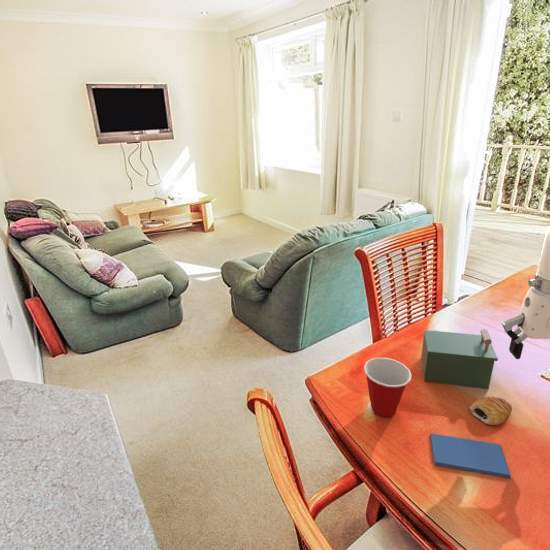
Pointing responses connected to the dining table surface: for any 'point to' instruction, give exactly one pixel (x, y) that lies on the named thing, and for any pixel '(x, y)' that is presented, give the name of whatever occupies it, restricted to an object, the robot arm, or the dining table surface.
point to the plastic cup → (386, 384)
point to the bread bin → (456, 370)
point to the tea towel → (469, 455)
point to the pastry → (491, 410)
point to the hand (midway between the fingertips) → (538, 355)
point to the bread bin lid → (460, 345)
